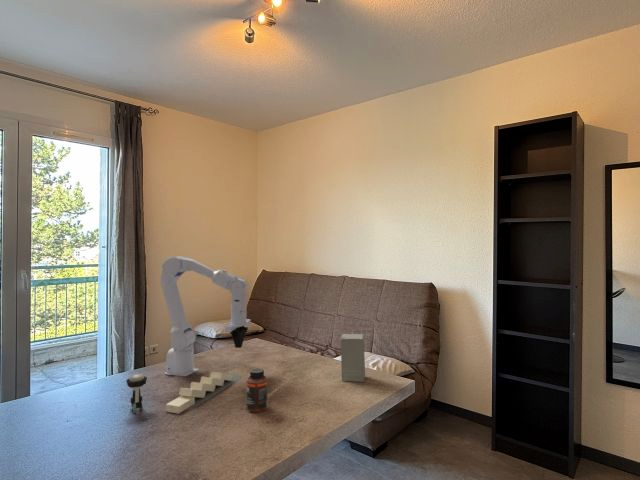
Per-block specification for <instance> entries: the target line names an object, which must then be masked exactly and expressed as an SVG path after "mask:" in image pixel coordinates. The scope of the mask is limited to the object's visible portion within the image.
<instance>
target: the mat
mask: <svg viewBox="0 0 640 480" xmlns="http://www.w3.org/2000/svg"><path fill="white" fill-rule="evenodd" d="M225 374H230V375H232V380H231V381H228V380H224V383H223V386H219V385H215V389H214V392H213V391H206V393H205V397H204V398H201V397H195V404H193V405H192V406H190V407H189V408H187V409H186V410H187V411H192V410H194V409H196V408H197V407H198V406H200V405H201V404H203V403H206V401H208V400H209V399H211V398H213V397H214V396H215V395H217V394H219V393H220V392H222V391H223V390H225V389H227V388H228V387H230V386H231V385H233V384H235V383H236V382H237V381H239V380H241V379H243V378H244V377H245V375H242V374H237V373H235V374H234V373H230V372H229V373H227V372H225Z"/></svg>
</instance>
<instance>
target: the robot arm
mask: <svg viewBox="0 0 640 480" xmlns="http://www.w3.org/2000/svg"><path fill="white" fill-rule="evenodd" d="M161 268H162V269H161V275H160V279H159V282H160V286H161V289H162V293H163V297H164V300H165V305H166V307H167V312H168V315H169V318H170V322H171V326H172V328H171V330H170V337H171V339H170V346H171V348H170V349H169V350H168V351H167V353H166V358H165V359H166V360H165V361H166V363H165V368H166V369H165V370H166V371H165V372H164V374H165V375H168V376H175V377H176V376H179V377H187V376H189V375H191V374H193V373H196V372H197V371H199V370H200V369H199V368H195V367H194V366H195V364H194V363H195V362H194V361H195V360H194V359H195V346H194V343H195V342H196V340H197V333H196V332H195V330H194V329H193V327H192V324H190V322H189V321H188V320H187V316H186V313H185V308H184V306H183V302H182V299H181V294H180V291H179V287H178V283H177V282H178V280H179V279H180V277H181V276H182V275H183V274H184V273H186V272H194V273H196V274H199V275H202V276H203V277H207V278H209V279H211V282H212V283H213V285H216V286H218V287H220V288H223V290H224V289H225V290H227V291H229V293H230V294H231V296H230V298H231V300H230V323H229V324H228V325H226V326H225V332H226V333H230V335H231V337H232V340H233V344H234V348H237V349H238V348H239V349H241V348H243V343H244V339H245V336H246V334H247V332H248V329H249V327H248V326H250V325H251V322H252V319H249V318H247V312H248V311H247V307H248V306H247V303H248V299H247V291H248V290H249V283H248V282H247V280H246V279H244V278H243V277H239V276H238V275H232V274H231V273H228V272H227V270H226V269H218V270H214V269H212V268H210V267H209V266H207V265H205V264H203V263H201V262H199V261H197V260H195V259H193V258H190V257H187V256H185V255H180V256H169V257H167V258H166V259H165V260H164V262H163V263H162V264H161Z"/></svg>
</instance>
